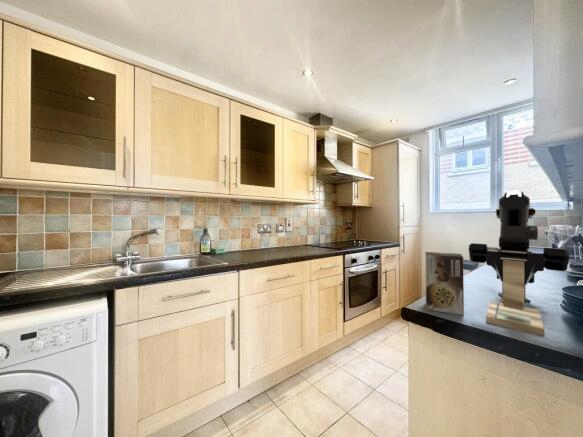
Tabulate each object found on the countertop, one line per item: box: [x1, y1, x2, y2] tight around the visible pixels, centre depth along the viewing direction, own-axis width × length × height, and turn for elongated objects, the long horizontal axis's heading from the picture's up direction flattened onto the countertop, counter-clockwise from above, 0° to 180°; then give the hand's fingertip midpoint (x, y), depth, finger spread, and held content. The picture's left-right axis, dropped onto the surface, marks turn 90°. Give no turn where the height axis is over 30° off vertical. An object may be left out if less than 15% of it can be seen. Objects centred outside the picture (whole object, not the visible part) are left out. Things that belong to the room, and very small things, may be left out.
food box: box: [425, 251, 465, 316], centre depth 68 cm, size 9×6×16 cm
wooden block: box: [502, 260, 525, 310], centre depth 58 cm, size 6×4×11 cm, turn 136°
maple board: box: [485, 300, 545, 337], centre depth 61 cm, size 16×10×2 cm, turn 136°
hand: (513, 282), depth 58 cm, fingers closed on wooden block, 4 cm apart
